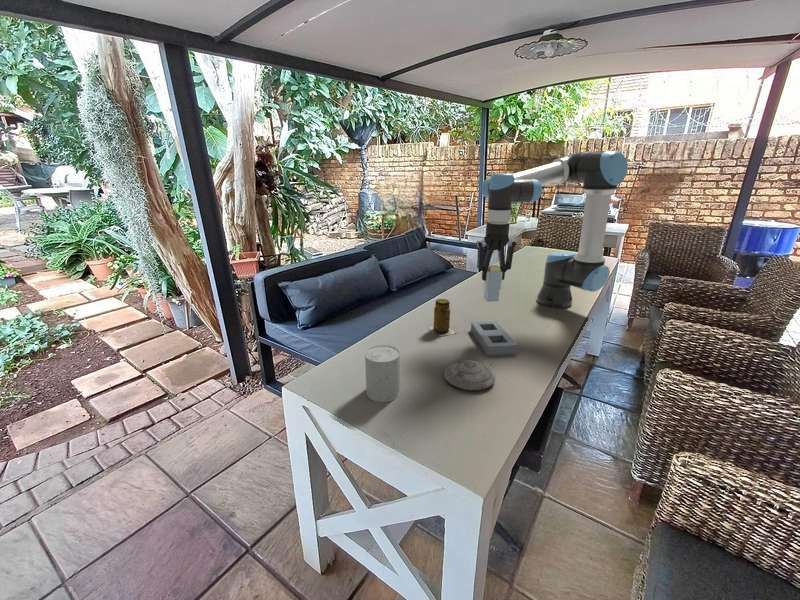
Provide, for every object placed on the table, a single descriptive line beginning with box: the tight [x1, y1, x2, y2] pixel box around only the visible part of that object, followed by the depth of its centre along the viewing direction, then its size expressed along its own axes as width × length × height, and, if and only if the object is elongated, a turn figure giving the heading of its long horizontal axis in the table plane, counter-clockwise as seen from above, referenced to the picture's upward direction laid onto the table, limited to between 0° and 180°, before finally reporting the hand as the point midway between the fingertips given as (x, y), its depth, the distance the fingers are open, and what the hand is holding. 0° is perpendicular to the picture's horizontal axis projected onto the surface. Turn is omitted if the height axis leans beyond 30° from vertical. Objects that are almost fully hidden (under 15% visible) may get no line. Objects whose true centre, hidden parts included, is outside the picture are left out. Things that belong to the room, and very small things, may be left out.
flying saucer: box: [443, 359, 496, 391], centre depth 109 cm, size 15×15×6 cm
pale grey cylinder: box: [364, 344, 401, 403], centre depth 102 cm, size 10×10×12 cm
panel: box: [470, 320, 518, 357], centre depth 132 cm, size 10×20×4 cm, turn 6°
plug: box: [483, 264, 501, 302], centre depth 130 cm, size 4×4×12 cm
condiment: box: [428, 298, 456, 337], centre depth 140 cm, size 7×8×12 cm
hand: (492, 288), depth 131 cm, fingers closed on plug, 4 cm apart
